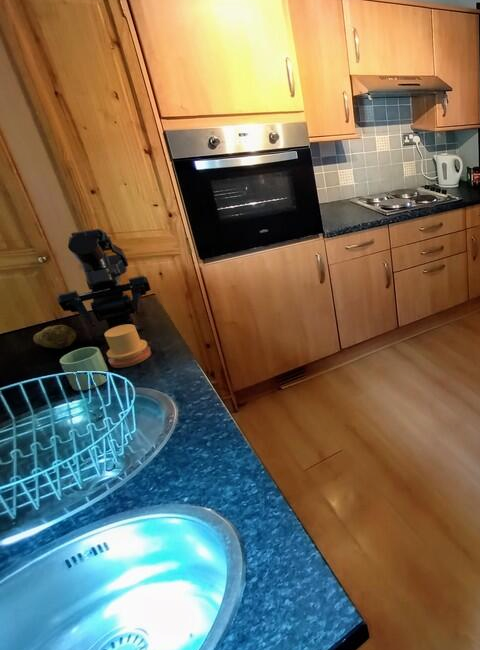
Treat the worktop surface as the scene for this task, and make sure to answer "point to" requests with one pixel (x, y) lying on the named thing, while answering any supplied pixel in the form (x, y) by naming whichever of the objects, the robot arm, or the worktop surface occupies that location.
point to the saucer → (132, 361)
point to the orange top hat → (124, 342)
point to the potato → (55, 337)
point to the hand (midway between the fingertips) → (116, 319)
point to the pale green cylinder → (84, 366)
